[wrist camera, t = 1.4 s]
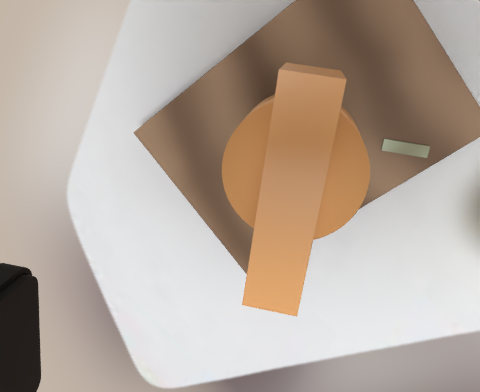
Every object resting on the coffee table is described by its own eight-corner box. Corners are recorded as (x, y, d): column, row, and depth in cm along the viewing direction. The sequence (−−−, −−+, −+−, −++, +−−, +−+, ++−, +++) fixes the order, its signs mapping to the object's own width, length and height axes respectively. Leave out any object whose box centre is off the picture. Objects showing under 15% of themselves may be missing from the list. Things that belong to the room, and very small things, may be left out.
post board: (370, -57, 28) (388, -90, 21) (482, 122, 31) (534, 151, 23) (143, 127, 35) (95, 152, 27) (251, 263, 37) (234, 320, 30)
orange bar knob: (248, 51, 24) (216, 60, 16) (382, 70, 23) (413, 89, 15) (224, 232, 27) (189, 305, 20) (339, 253, 27) (347, 338, 19)
